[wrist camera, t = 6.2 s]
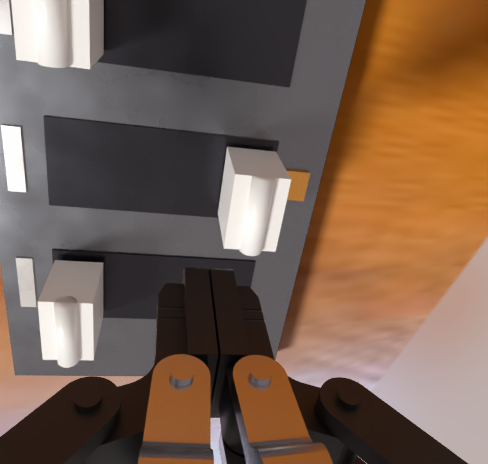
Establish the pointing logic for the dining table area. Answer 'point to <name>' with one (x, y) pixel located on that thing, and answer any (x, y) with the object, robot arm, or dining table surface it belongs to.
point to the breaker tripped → (252, 200)
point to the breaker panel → (161, 158)
